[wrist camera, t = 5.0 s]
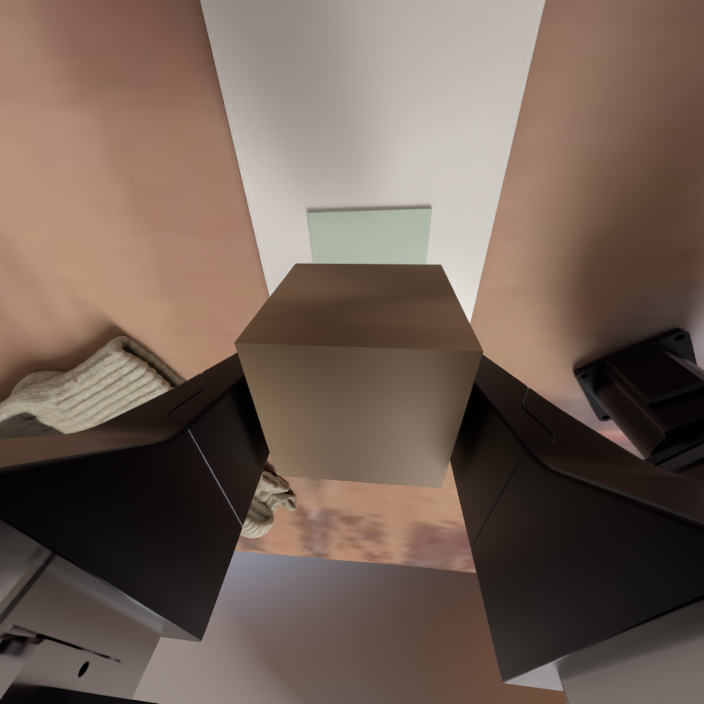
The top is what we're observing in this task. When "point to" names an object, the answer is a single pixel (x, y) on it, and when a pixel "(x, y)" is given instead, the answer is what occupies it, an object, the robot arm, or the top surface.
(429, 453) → the walnut block
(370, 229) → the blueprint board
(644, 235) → the top surface
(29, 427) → the pair of gloves
